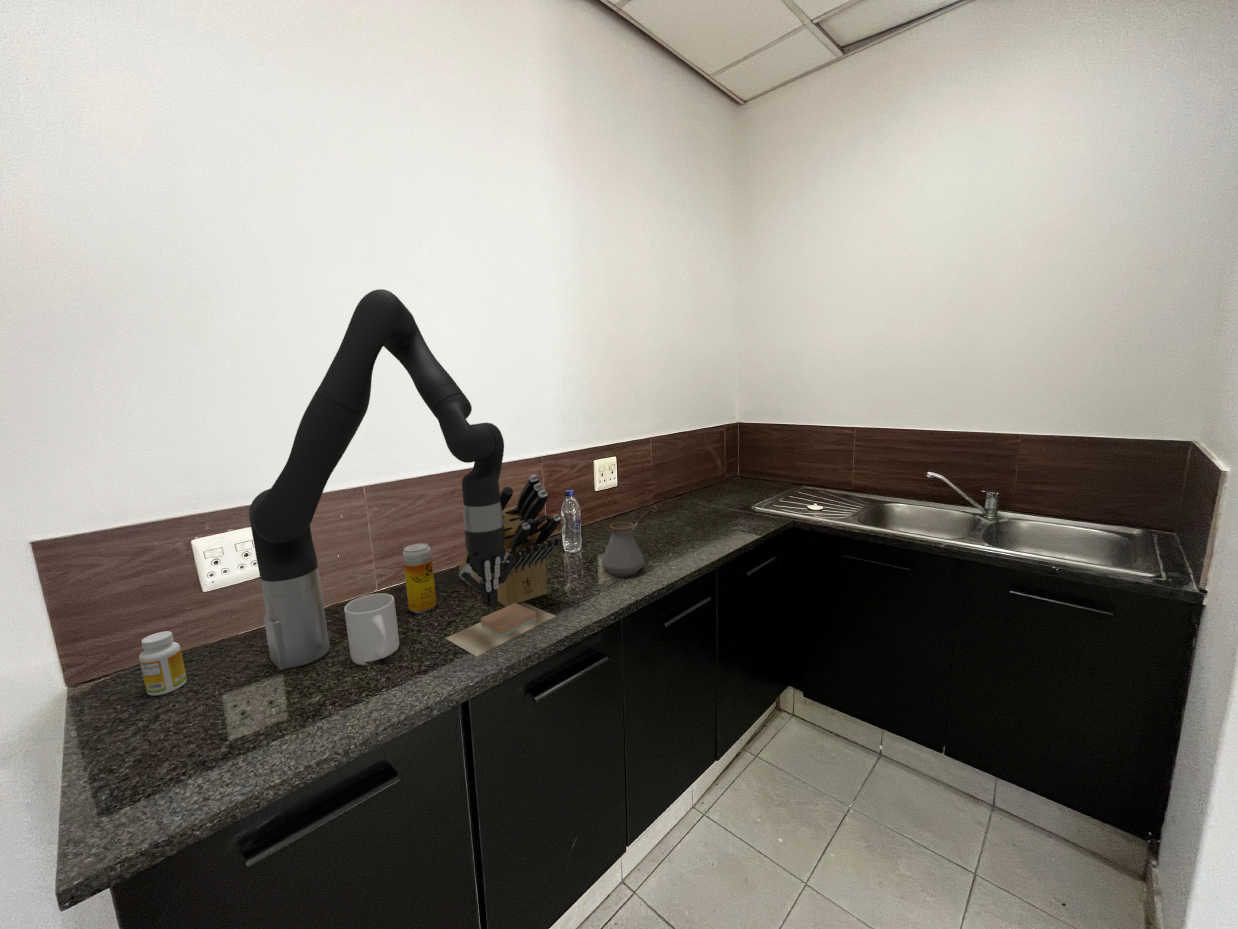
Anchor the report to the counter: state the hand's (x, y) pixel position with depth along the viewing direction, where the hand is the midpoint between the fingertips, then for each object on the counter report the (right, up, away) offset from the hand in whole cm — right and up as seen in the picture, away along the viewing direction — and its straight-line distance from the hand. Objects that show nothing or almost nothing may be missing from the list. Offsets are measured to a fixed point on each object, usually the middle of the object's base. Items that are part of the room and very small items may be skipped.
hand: (490, 606), depth 101 cm
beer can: (-20, -5, +15) cm, 25 cm away
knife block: (-1, -3, +21) cm, 22 cm away
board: (+2, -6, +3) cm, 7 cm away
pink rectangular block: (0, -4, 0) cm, 5 cm away
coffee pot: (+30, +1, +37) cm, 48 cm away
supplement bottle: (-54, -11, -13) cm, 57 cm away
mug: (-20, -9, -6) cm, 23 cm away
